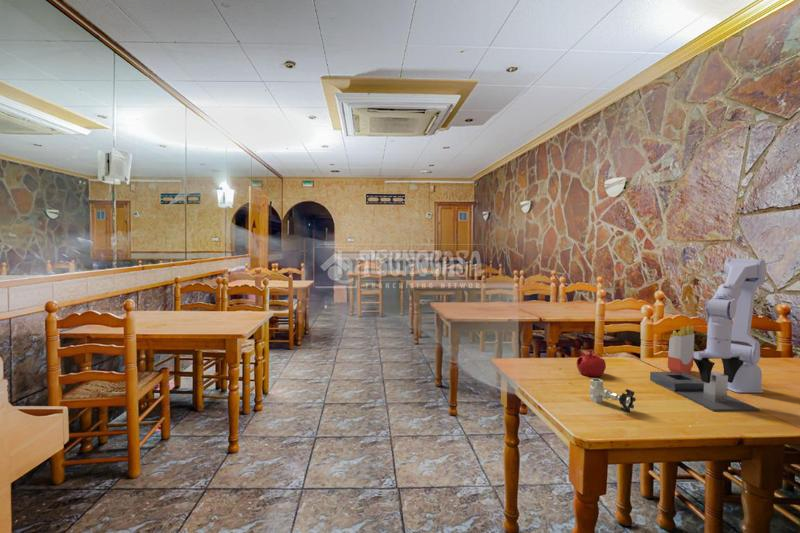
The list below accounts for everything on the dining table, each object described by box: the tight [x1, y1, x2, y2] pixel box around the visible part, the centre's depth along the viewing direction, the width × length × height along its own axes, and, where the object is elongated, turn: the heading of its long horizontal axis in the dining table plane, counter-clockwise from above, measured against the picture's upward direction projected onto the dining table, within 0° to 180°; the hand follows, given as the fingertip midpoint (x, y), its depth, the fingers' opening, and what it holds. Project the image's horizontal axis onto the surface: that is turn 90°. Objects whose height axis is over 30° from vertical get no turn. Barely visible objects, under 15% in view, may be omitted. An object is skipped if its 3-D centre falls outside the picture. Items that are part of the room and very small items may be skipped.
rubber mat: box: [676, 392, 760, 412], centre depth 120 cm, size 14×14×1 cm
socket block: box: [649, 371, 704, 393], centre depth 134 cm, size 12×12×3 cm
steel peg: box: [703, 371, 728, 402], centre depth 121 cm, size 4×4×8 cm
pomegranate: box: [576, 349, 607, 378], centre depth 146 cm, size 10×10×9 cm
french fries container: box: [667, 325, 695, 374], centre depth 149 cm, size 5×11×18 cm, turn 122°
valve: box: [588, 377, 637, 414], centre depth 117 cm, size 7×7×12 cm
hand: (716, 381), depth 120 cm, fingers open, 7 cm apart
